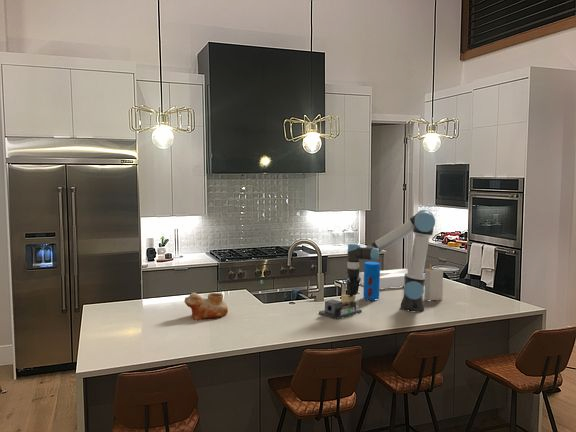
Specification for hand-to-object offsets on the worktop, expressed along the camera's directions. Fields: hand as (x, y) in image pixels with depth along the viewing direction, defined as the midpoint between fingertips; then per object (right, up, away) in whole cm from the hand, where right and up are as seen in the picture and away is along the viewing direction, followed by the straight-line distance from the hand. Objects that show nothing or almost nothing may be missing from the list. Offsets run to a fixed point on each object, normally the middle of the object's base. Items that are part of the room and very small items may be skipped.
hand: (352, 304), depth 335 cm
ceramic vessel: (-90, -4, -18) cm, 92 cm away
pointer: (-1, -1, -10) cm, 10 cm away
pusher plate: (-7, -2, -9) cm, 11 cm away
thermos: (+16, -1, +29) cm, 33 cm away
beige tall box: (+59, -2, +29) cm, 66 cm away
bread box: (+39, +3, +72) cm, 82 cm away
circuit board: (-8, -4, -7) cm, 12 cm away
